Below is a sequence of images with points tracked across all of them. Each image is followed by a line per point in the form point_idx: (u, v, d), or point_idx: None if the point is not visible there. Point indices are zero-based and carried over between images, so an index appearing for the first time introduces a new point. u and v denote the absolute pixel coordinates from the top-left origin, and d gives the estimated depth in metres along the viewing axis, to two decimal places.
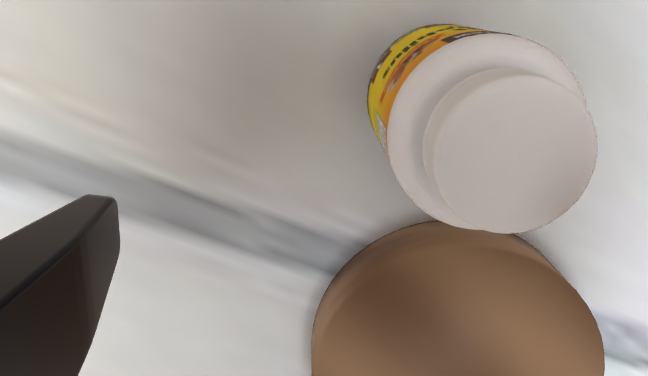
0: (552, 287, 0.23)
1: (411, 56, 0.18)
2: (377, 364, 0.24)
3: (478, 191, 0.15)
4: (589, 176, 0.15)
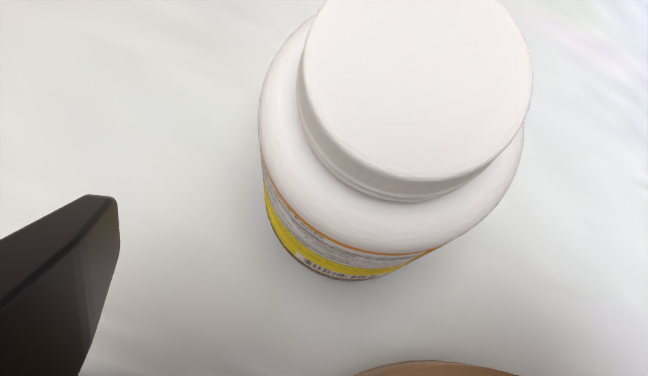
0: None
1: None
2: None
3: (376, 115, 0.10)
4: (531, 89, 0.10)
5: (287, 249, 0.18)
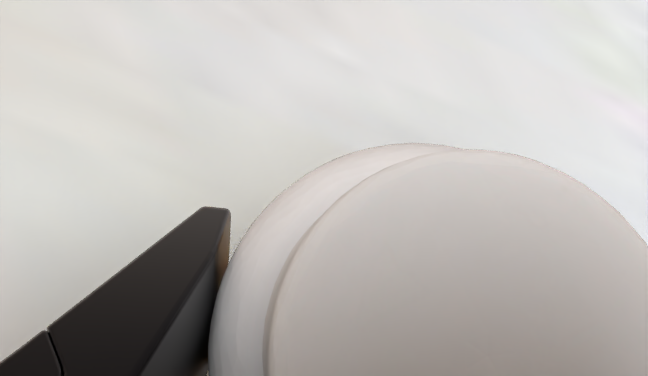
0: None
1: None
2: None
3: None
4: None
5: None
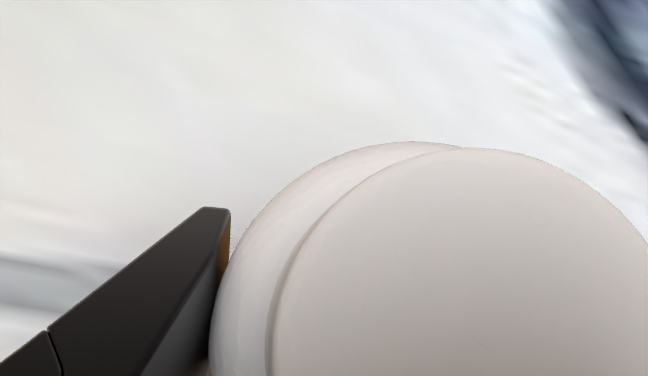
0: None
1: None
2: None
3: None
4: None
5: None
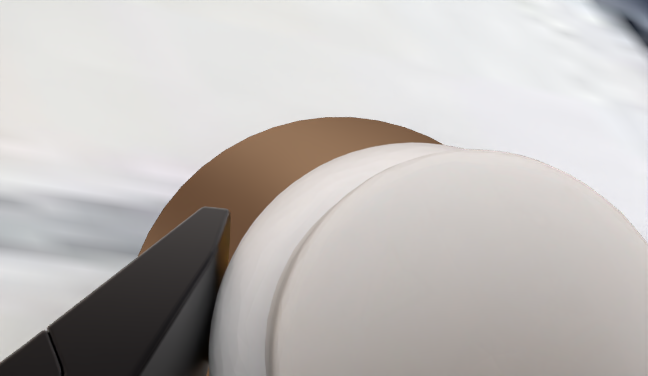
0: None
1: None
2: None
3: None
4: None
5: None
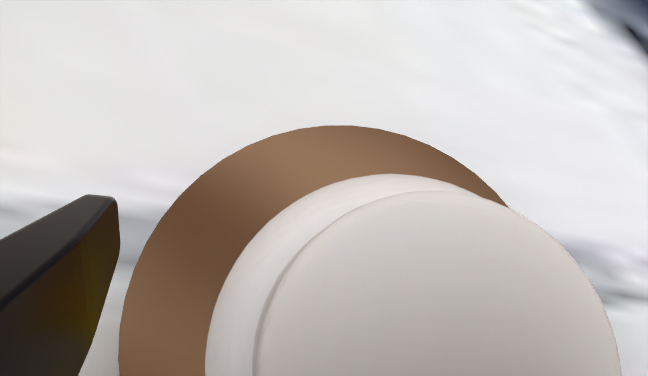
0: (419, 159, 0.18)
1: None
2: None
3: None
4: None
5: None
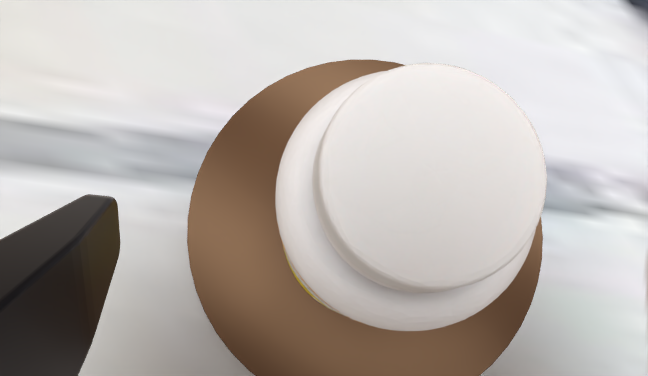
0: None
1: None
2: (264, 225, 0.20)
3: (390, 224, 0.10)
4: (544, 192, 0.10)
5: (303, 288, 0.19)
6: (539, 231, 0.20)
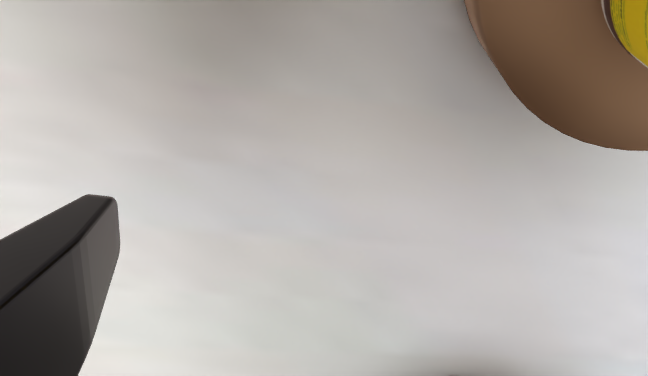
0: None
1: None
2: None
3: None
4: None
5: (619, 40, 0.16)
6: None
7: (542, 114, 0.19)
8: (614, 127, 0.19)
